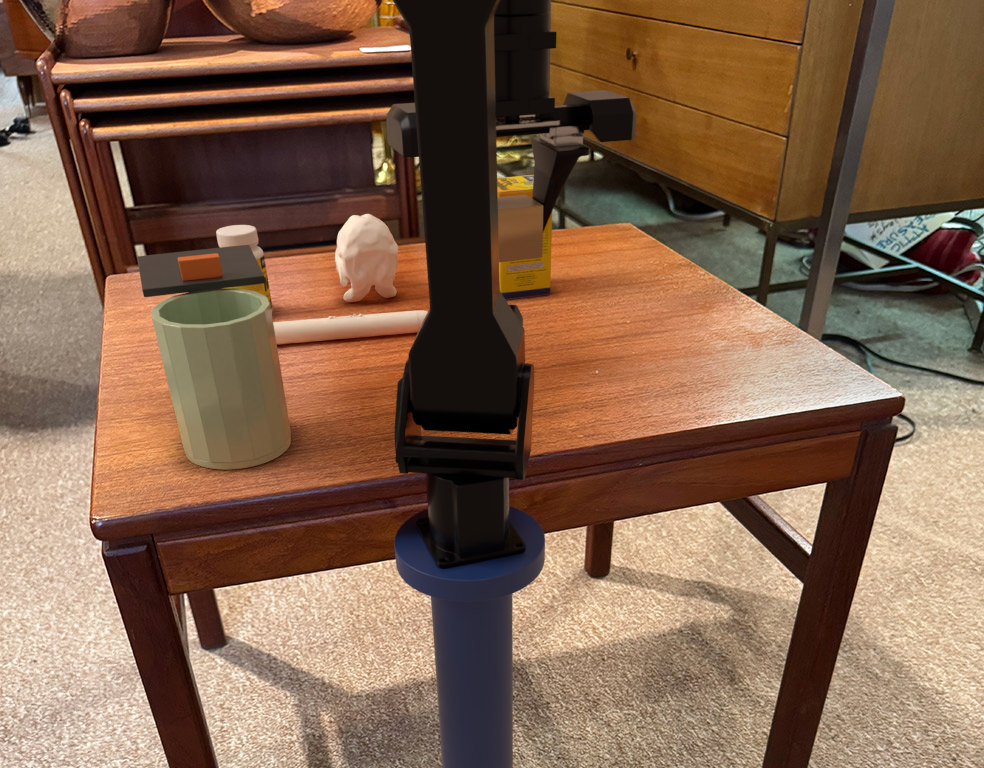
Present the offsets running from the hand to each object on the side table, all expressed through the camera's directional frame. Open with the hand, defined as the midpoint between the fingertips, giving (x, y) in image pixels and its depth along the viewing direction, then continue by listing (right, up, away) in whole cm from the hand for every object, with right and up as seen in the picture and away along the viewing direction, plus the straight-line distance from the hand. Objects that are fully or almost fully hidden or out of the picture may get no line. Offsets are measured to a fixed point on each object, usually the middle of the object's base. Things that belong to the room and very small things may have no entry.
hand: (511, 241), depth 77 cm
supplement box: (+1, +6, +27) cm, 27 cm away
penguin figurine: (-16, +6, +27) cm, 32 cm away
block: (0, -1, +1) cm, 1 cm away
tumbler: (-22, -18, -2) cm, 28 cm away
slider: (-25, -4, -4) cm, 25 cm away
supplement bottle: (-27, +2, +22) cm, 35 cm away
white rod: (-15, -3, +16) cm, 22 cm away
